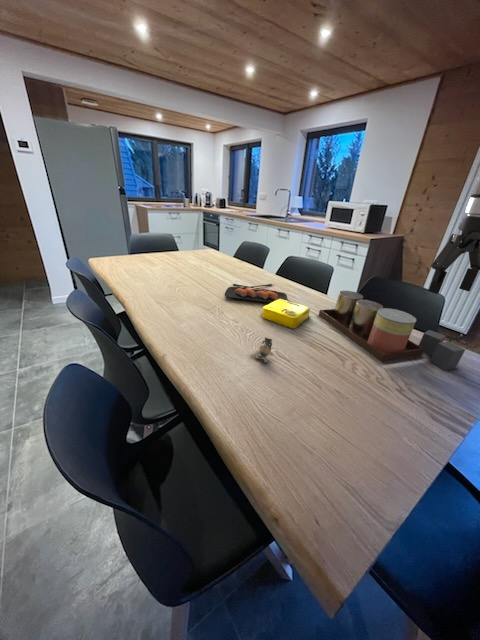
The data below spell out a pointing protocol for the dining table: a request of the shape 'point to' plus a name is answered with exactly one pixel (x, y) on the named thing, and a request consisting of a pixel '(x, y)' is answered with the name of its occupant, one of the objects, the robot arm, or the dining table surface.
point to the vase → (265, 349)
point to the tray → (408, 352)
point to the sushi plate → (254, 294)
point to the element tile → (286, 313)
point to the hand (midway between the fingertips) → (449, 291)
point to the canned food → (391, 330)
